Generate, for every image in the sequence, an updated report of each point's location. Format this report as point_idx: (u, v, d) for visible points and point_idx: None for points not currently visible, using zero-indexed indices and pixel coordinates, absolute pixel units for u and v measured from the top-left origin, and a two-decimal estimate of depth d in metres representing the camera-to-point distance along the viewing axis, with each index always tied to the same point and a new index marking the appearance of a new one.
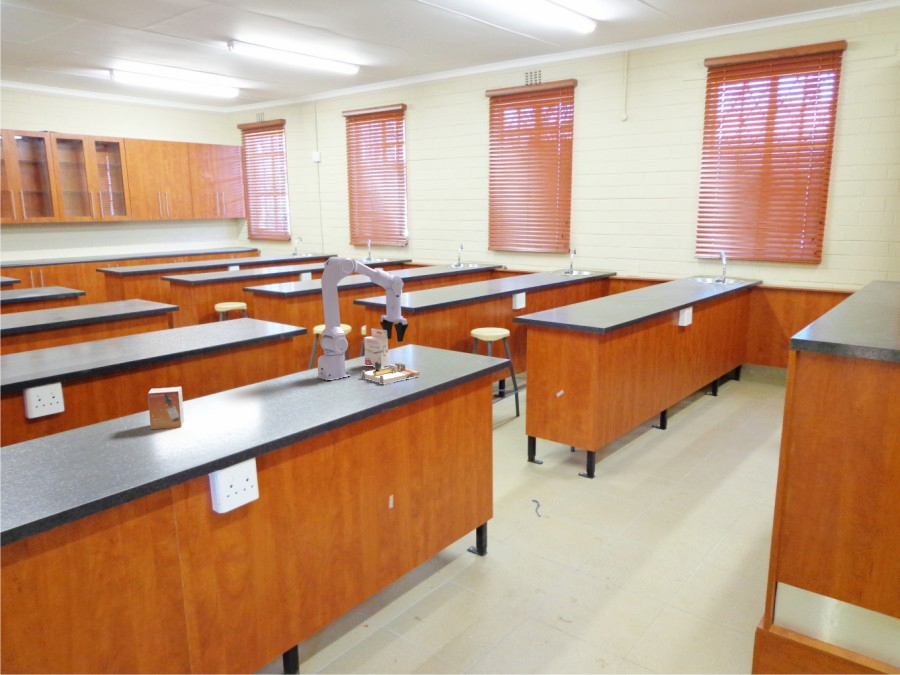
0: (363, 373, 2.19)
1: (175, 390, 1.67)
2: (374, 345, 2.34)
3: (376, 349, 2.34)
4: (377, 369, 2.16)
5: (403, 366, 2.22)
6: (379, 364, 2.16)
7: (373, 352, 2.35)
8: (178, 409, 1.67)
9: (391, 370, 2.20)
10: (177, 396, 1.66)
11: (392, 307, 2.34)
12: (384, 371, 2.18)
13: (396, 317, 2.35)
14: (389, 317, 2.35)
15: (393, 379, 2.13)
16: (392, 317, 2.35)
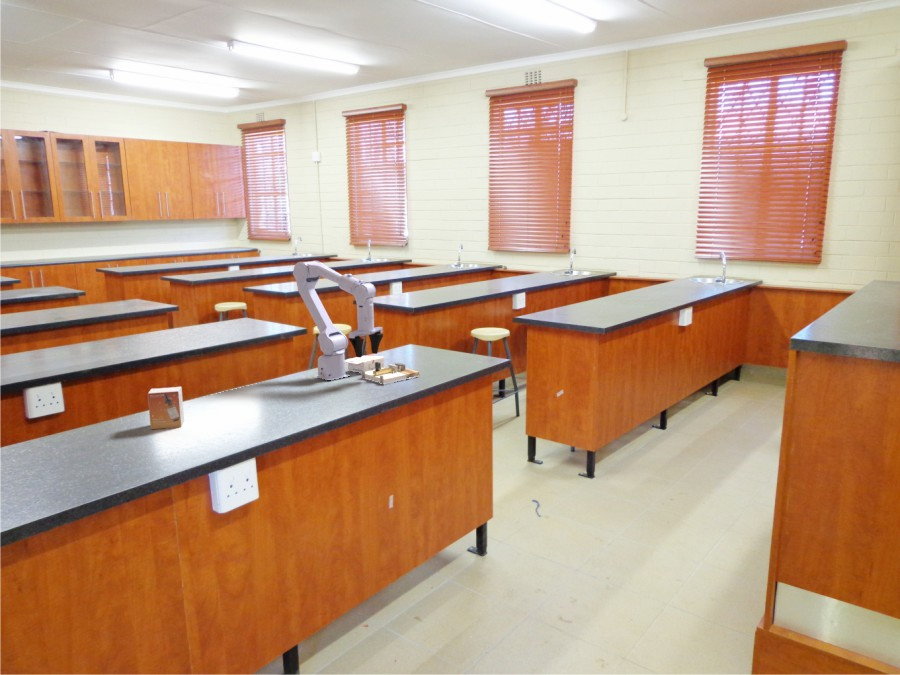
0: (363, 373, 2.19)
1: (175, 390, 1.67)
2: None
3: None
4: (377, 369, 2.16)
5: (403, 366, 2.22)
6: (379, 364, 2.16)
7: None
8: (178, 409, 1.67)
9: (391, 370, 2.20)
10: (177, 396, 1.66)
11: None
12: (384, 371, 2.18)
13: (358, 329, 2.11)
14: None
15: (393, 379, 2.13)
16: None
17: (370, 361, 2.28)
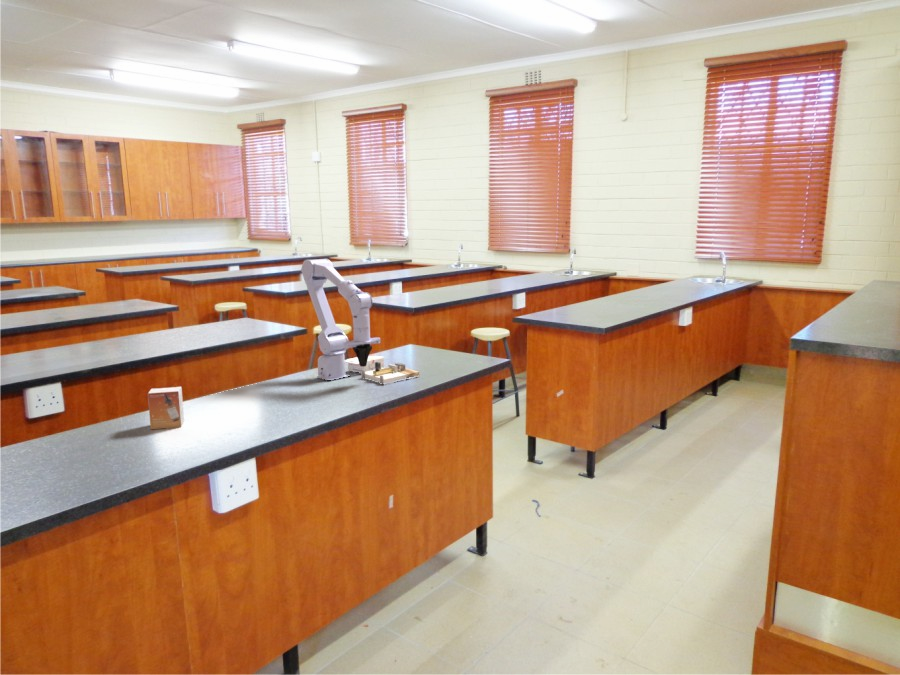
0: (363, 373, 2.19)
1: (175, 390, 1.67)
2: None
3: None
4: (377, 369, 2.16)
5: (403, 366, 2.22)
6: (379, 364, 2.16)
7: None
8: (178, 409, 1.67)
9: (391, 370, 2.20)
10: (177, 396, 1.66)
11: None
12: (384, 371, 2.18)
13: (354, 340, 2.09)
14: None
15: (393, 379, 2.13)
16: (354, 339, 2.10)
17: (370, 361, 2.28)
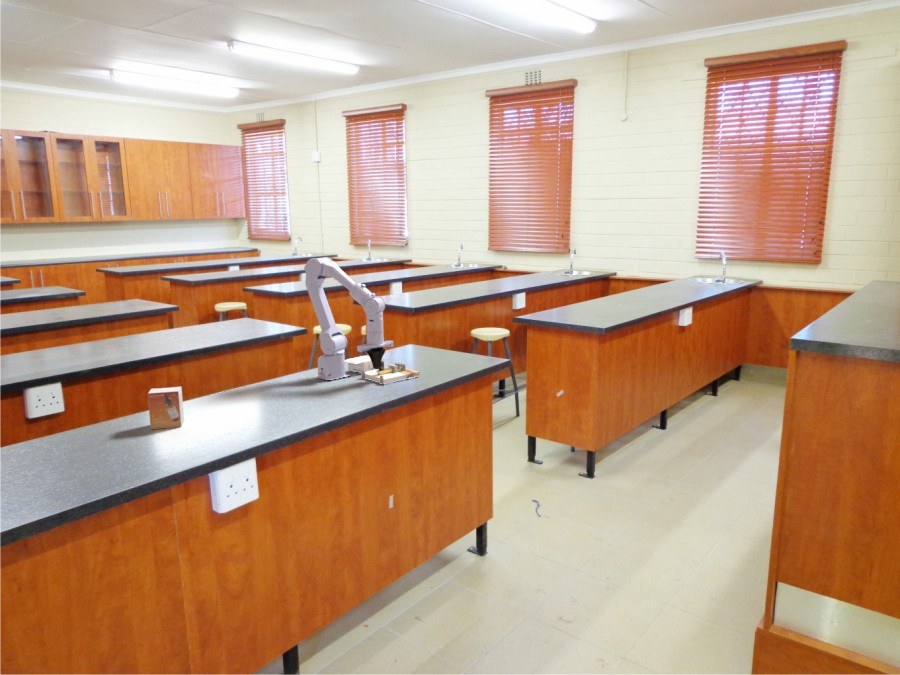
0: (363, 373, 2.19)
1: (175, 390, 1.67)
2: None
3: None
4: (380, 368, 2.17)
5: (403, 366, 2.22)
6: (382, 363, 2.17)
7: None
8: (178, 409, 1.67)
9: None
10: (177, 396, 1.66)
11: None
12: (387, 370, 2.19)
13: (367, 343, 2.13)
14: None
15: (393, 379, 2.13)
16: None
17: (370, 361, 2.28)
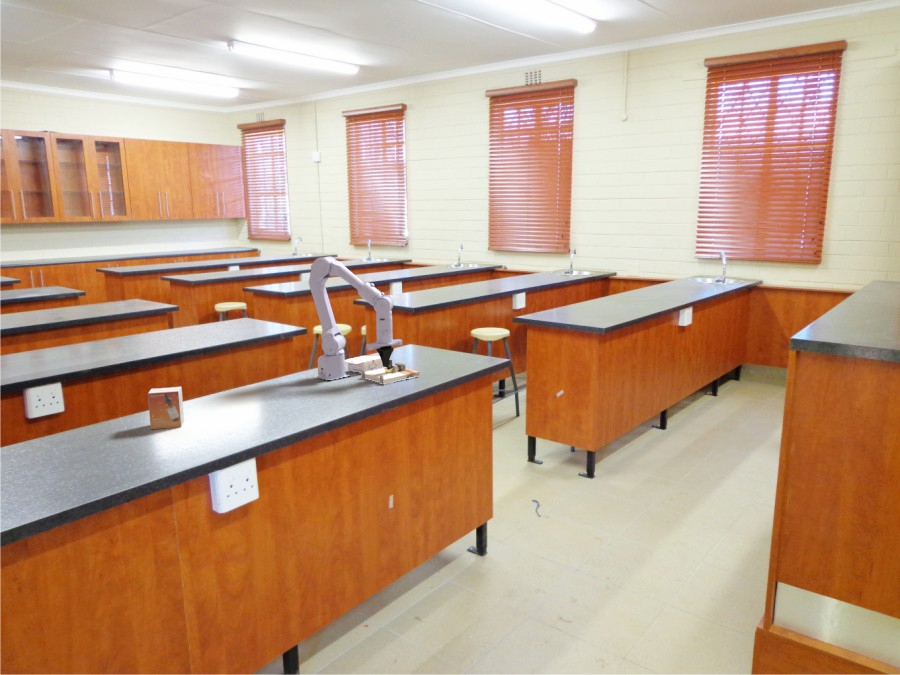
0: (363, 373, 2.19)
1: (175, 390, 1.67)
2: None
3: None
4: (389, 367, 2.19)
5: (403, 366, 2.22)
6: (391, 362, 2.19)
7: None
8: (178, 409, 1.67)
9: None
10: (177, 396, 1.66)
11: None
12: None
13: (377, 341, 2.16)
14: None
15: (393, 379, 2.13)
16: None
17: (370, 361, 2.28)
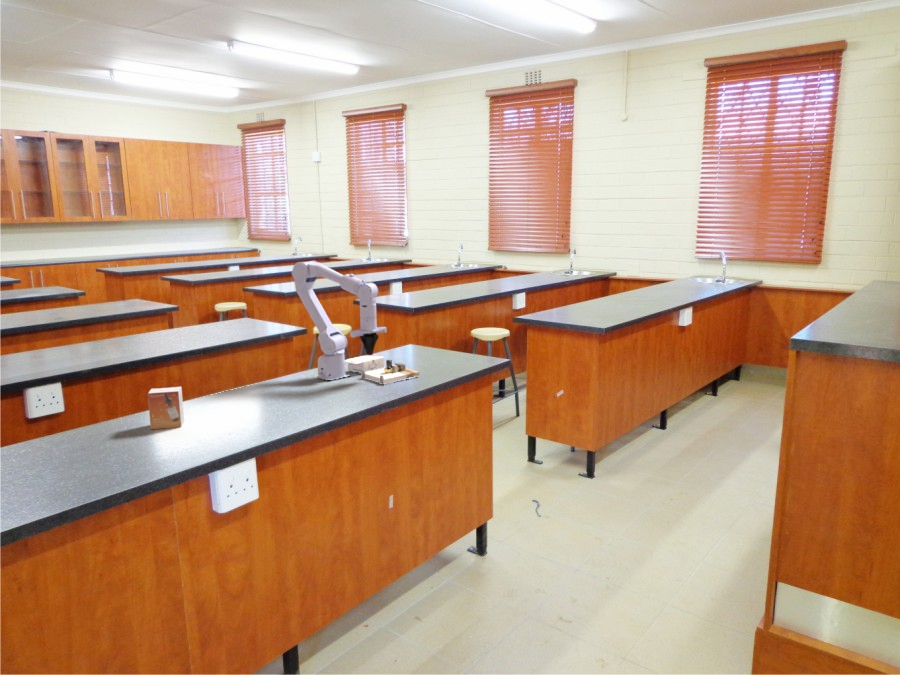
0: (363, 373, 2.19)
1: (175, 390, 1.67)
2: None
3: None
4: (388, 367, 2.19)
5: (403, 366, 2.22)
6: (390, 362, 2.19)
7: None
8: (178, 409, 1.67)
9: None
10: (177, 396, 1.66)
11: None
12: None
13: (360, 329, 2.13)
14: None
15: (393, 379, 2.13)
16: None
17: (370, 361, 2.28)
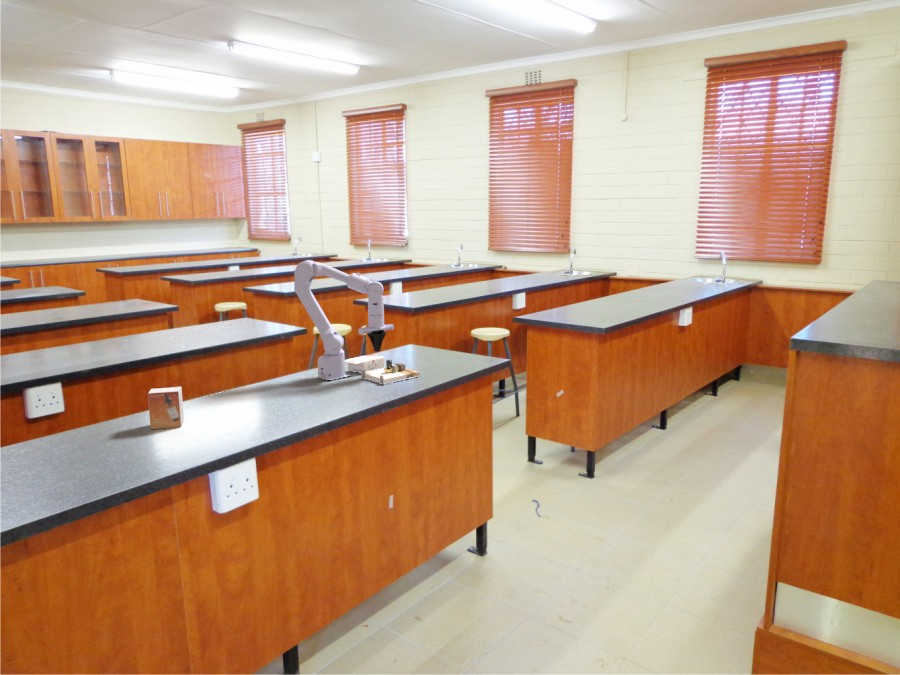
0: (363, 373, 2.19)
1: (175, 390, 1.67)
2: None
3: None
4: (388, 367, 2.19)
5: (403, 366, 2.22)
6: (390, 362, 2.19)
7: None
8: (178, 409, 1.67)
9: None
10: (177, 396, 1.66)
11: (368, 315, 2.19)
12: None
13: (368, 326, 2.19)
14: None
15: (393, 379, 2.13)
16: None
17: (370, 361, 2.28)
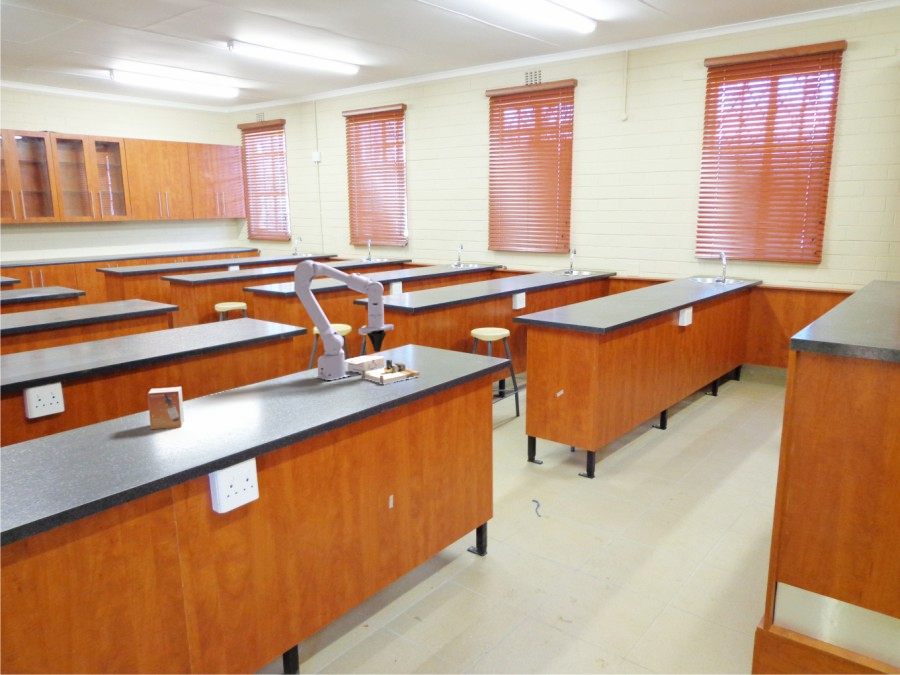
0: (363, 373, 2.19)
1: (175, 390, 1.67)
2: None
3: None
4: (388, 367, 2.19)
5: (403, 366, 2.22)
6: (390, 362, 2.19)
7: None
8: (178, 409, 1.67)
9: None
10: (177, 396, 1.66)
11: (368, 315, 2.19)
12: None
13: (368, 326, 2.19)
14: None
15: (393, 379, 2.13)
16: None
17: (370, 361, 2.28)
